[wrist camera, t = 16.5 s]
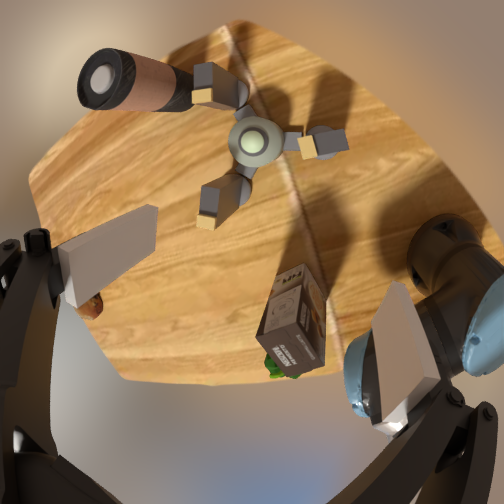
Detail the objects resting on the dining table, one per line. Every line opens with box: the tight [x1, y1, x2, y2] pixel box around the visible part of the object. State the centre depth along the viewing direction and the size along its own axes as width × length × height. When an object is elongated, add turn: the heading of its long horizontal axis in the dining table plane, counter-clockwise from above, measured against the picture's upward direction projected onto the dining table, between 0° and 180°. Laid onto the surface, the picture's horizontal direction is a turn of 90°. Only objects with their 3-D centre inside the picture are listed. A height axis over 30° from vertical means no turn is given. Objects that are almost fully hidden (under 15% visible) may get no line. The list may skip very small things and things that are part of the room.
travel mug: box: [77, 48, 194, 112], centre depth 29 cm, size 8×8×20 cm
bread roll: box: [73, 294, 103, 320], centre depth 63 cm, size 10×10×8 cm
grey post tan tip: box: [192, 62, 249, 110], centre depth 31 cm, size 5×5×12 cm
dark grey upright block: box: [297, 125, 349, 160], centre depth 31 cm, size 5×5×12 cm
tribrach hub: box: [228, 104, 302, 179], centre depth 36 cm, size 12×11×7 cm
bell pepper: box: [264, 353, 303, 379], centre depth 49 cm, size 8×8×10 cm
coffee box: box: [255, 263, 326, 377], centre depth 41 cm, size 9×6×16 cm
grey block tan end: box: [196, 174, 251, 231], centre depth 38 cm, size 5×5×12 cm
